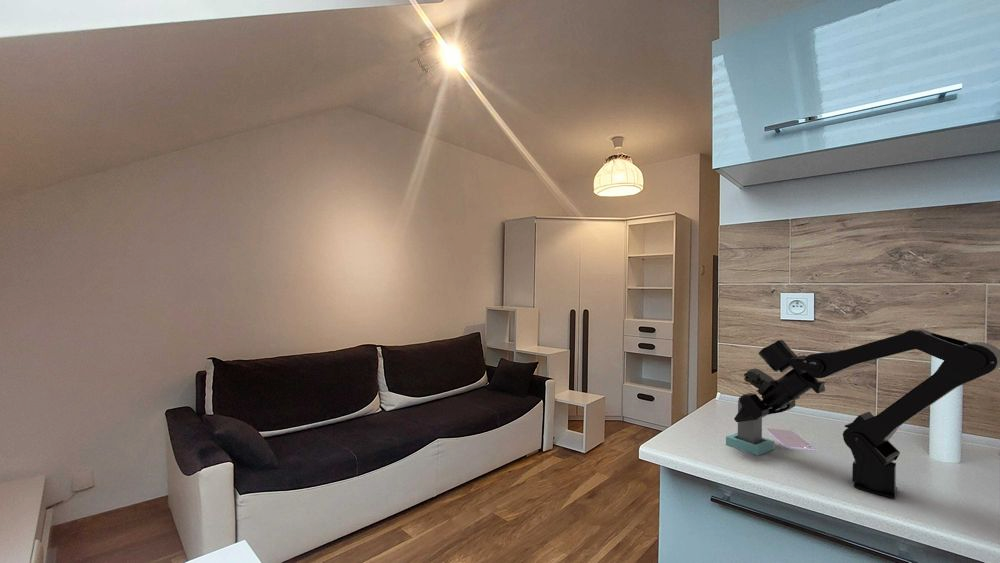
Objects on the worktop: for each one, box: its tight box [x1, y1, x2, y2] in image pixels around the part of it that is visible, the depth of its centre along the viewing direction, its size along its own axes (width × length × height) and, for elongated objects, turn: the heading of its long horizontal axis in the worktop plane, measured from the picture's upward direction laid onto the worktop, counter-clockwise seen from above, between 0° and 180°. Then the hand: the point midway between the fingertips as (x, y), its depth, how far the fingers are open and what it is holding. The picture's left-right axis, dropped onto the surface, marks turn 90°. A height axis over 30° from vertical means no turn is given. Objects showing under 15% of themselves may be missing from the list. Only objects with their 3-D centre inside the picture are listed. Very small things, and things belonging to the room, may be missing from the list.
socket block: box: [725, 432, 775, 456], centre depth 112 cm, size 8×8×2 cm
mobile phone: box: [765, 428, 816, 452], centre depth 118 cm, size 8×1×15 cm
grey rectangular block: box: [737, 399, 763, 445], centre depth 112 cm, size 4×4×12 cm
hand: (744, 417), depth 113 cm, fingers open, 9 cm apart
